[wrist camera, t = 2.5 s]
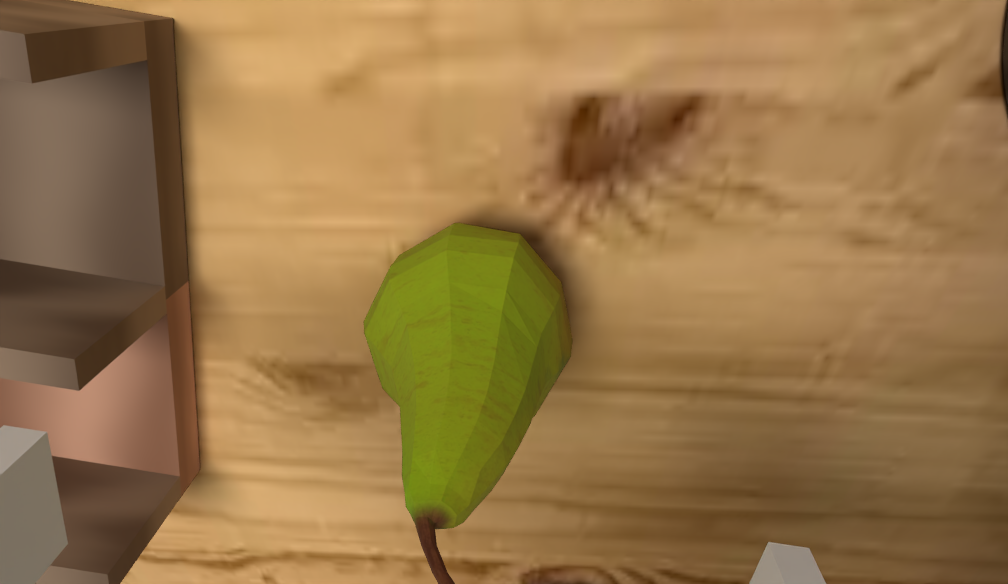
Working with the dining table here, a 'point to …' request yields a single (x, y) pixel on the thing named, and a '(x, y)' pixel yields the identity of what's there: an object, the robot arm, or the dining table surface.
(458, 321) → the fruit
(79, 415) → the rack
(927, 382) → the dining table surface
